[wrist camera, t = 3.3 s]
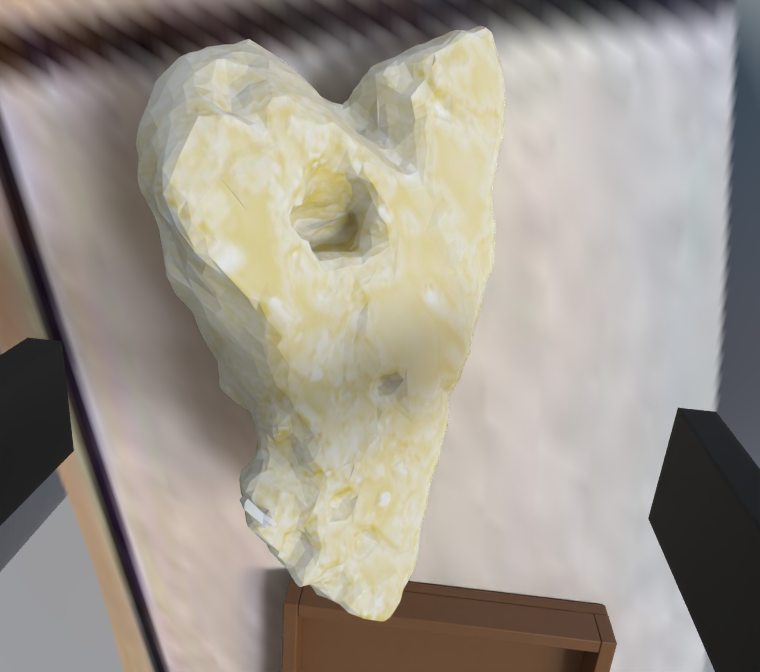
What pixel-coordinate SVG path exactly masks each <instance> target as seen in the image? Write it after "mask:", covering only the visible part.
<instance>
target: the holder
mask: <svg viewBox="0 0 760 672" xmlns="http://www.w3.org/2000/svg"><path fill="white" fill-rule="evenodd" d="M616 645H617V643H616V640H615V636H614V633H613V630H612V626H611V623H610V620H609V616H608V614H607V610H606V607H605V605H599V604H590V603H582V602H573V601H565V600H556V599H548V598H539V597H531V596H523V595H514V594H506V593H497V592H489V591H480V590H472V589H463V588H455V587H446V586H438V585H430V584H421V583H413V582H407V584H406V586H405V588H404V589H403V593H402V597H401V600H400V603H399V605H398V606H397V608H396V609H395V611H394V612H393V614H392V616H391V617H390V618H388V619H387V620H385V621H381V622H380V621H375V620H369V619H363V618H361V617H358V616H356V615H353V614H350V613H348V612H347V611H346V610H345V609H344V608H343V607H342V606H341V605H340V604H338V603H336V602H334V601H332V600H330V599H328V598H325V597H322V596H319V595H317V594H316V592H315V591H314V589H313V588H312V586H311V585H305V586H302V587H299V586H298V585H297V584H296V583H295V581H294V580H293V578H292V576H291V580H290V583H289V586H288V590H287V593H286V596H285V600H284V603H283V638H282V672H609V671H610V667H611V664H612V660H613V656H614V652H615V649H616Z"/></svg>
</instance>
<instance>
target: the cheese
mask: <svg viewBox="0 0 760 672" xmlns="http://www.w3.org/2000/svg"><path fill="white" fill-rule="evenodd" d="M504 110H505V86H504V77H503V69H502V66H501V62H500V59H499V56H498V53H497V49H496V46H495V43H494V39H493V35H492V33H491V32H490V31H489V30H488V29H487V28H486V27H483V26H479V27H476V28H473V29H471V30H469V31H463V30H454V31H451V32H449V33H447V34H445V35H443V36H440V37H437V38H434V39H432V40H430V41H428V42H426V43H424V44H419V45H416V46H414V47H412V48H410V49H408V50H406V51H404V52H402V53H401V54H399V55H397V56H396V57H393V58H390V59H387V60H385V61H383V62H380V63H378V64H375V65H373V66H372V67H371V68H370V69H369V70H368V71H367V73H366V74H365V75H364V76H363V78H362V79H361V81H360V82H359V84H358V86H357V87H356V88H354V89H353V91H352V94H351V96H350V98H349V99H348V100H347V101H346V102H344V103H343V104H338V103H334V102H331V101H329V100H327V99H325V98H323V97H321V96H320V95H319V94H318V92H317V91H316V90H315V89H314V88H313V87H312V86H311V85H310V84H309V83H308V82H307V81H306V80H305V79H304V78H303V77H302V76H301V75H299V74H298V73H297V72H296V71H295V70H294V69H293V68H292V67H290V66H289V65H288V64H287V63H286V62H285V61H283V60H282V59H280V58H278V57H277V56H275V55H274V54H272V53H271V52H269V51H267V50H266V49H264V48H263V47H261V46H259V45H258V44H256V43H255V42H253V41H251V40H250V39H247V40H244V41H242V42H239V43H236V44H228V45H218V46H211V47H206V48H204V49H202V50H200V51H196V52H191V53H188V54H185V55H183V56H180V57H179V58H178V59H177V60H176V61H175V62H174V63H173V64H172V65H171V66H170V67H169V68H168V69H167V70H166V71H165V72H164V73H163V74H162V75H161V76H160V77H159V78H158V79H157V81H156V82H155V84H154V87H153V90H152V93H151V95H150V97H149V102H148V105H147V107H146V109H145V112H144V114H143V116H142V119H141V121H140V124H139V128H138V132H137V137H136V150H137V153H138V155H139V162H138V170H137V176H138V183H139V189H140V191H141V192H142V194H143V196H144V198H145V200H146V201H147V203H148V205H149V207H150V209H151V211H152V212H153V214H154V217H155V219H156V222H157V225H158V227H159V230H160V238H161V243H162V247H163V257H164V264H165V271H166V276H167V279H168V280H169V282H170V283H171V284H172V288H173V291H174V292H175V294H176V295H177V296H178V298H179V299H180V300H181V301H182V302H183V303H184V304H185V305H186V306H187V307H188V308H189V309H190V310H191V311H192V313H193V315H194V318H195V321H196V323H197V326H198V328H199V330H200V332H201V334H202V336H203V338H204V340H205V342H206V344H207V346H208V347H209V349H210V351H211V352H212V354H213V355H214V357H215V358H216V360H217V362H218V375H219V379H220V382H219V388H220V389H221V390H222V391H223V392H224V393H226V394H227V395H228V396H229V397H230V398H231V399H232V400H233V401H235V402H236V403H238V404H240V405H241V406H243V407H244V408H245V409H246V410H248V411H249V412H250V413H251V414H252V417H253V421H254V426H255V430H256V434H257V437H258V444H257V452H256V454H255V456H254V457H253V459H252V461H251V462H250V463H249V464H248V465H247V466H246V467H245V468H244V469H243V470H242V472H241V476H240V489H241V494H242V497H241V499H240V501H241V503H242V506H243V508H244V510H245V515H246V521H247V525H248V527H249V528H250V529H251V530H252V531H253V532H254V533H255V534H257V535H258V536H259V537H260V538H261V539H262V540H263V541H264V542H265V543H266V544H267V546H268V548H269V550H270V552H271V553H272V554H273V555H274V556H275V557H276V558H277V559H278V560H279V561H280V562H281V563H282V564H283V565H284V566H285V567H286V568H287V570H288V571H289V573H290V575H291V576H292V578H293V580H294V581H295V583H296V584H297V585H298V586H299V587H302V586H305V585H311V586H312V588H313V589H314V591H315V592H316V594H317V595H319V596H322V597H325V598H328V599H330V600H332V601H334V602H336V603H338V604H340V605H341V606H342V607H343V608H344V609H345V610H346V611H347V612H348V613H350V614H353V615H356V616H358V617H361V618H363V619H369V620H375V621H380V622H381V621H385V620H387V619H388V618H390V617H391V616H392V614H393V612H394V611H395V609H396V608H397V606H398V605H399V603H400V600H401V597H402V593H403V589H404V588H405V586H406V584H407V582H408V580H409V578H410V576H411V574H412V572H413V570H414V568H415V566H416V563H417V556H418V550H419V541H420V528H421V526H422V522H423V519H424V516H425V513H426V508H427V502H428V497H429V490H430V483H431V480H432V477H433V474H434V472H435V469H436V467H437V464H438V462H439V457H440V452H441V447H442V442H443V439H444V435H445V432H446V429H447V426H448V417H449V409H448V397H449V396H450V394H451V392H452V390H453V389H454V387H455V386H456V384H457V383H458V381H459V379H460V376H461V372H462V369H463V366H464V364H465V362H466V360H467V358H468V356H469V355H470V351H471V344H472V337H473V333H474V329H475V326H476V322H477V319H478V316H479V313H480V309H481V306H482V299H483V294H484V289H485V283H486V280H487V278H488V277H489V275H490V274H491V272H492V271H493V267H494V248H495V235H496V222H495V218H494V215H493V184H494V179H495V174H496V168H497V161H498V150H499V148H500V145H501V143H502V140H503V127H504Z"/></svg>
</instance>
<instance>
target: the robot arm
mask: <svg viewBox="0 0 760 672" xmlns="http://www.w3.org/2000/svg"><path fill="white" fill-rule="evenodd" d="M73 451H74V449H73V440H72V430H71V421H70V412H69V403H68V394H67V385H66V376H65V367H64V358H63V349H62V341H54V340H45V339H36V338H26V339H25V340H23V341H22V342H20V343H19V344H17V345H16V346H14V347H13V348H11V349H9V350H8V351H6V352H5V353H3V354H2V355H0V526H1V525H2V524H3V523H4V522H5V520H6V519H7V518H8V517H9V516H10V515H11V514H12V513H13V512H14V511H15V510H16V509H17V508H18V507H19V506H20V505H21V504H22V503H23V502H24V501H25V500H26V499H27V498H28V497H29V496H30V495H31V494H32V493H33V492H34V491H35V490H36V489H37V488H38V487H39V486H40V485H41V484H42V483H43V482H44V481H45V480H46V479H47V478H48V476H49V475H50V474H51V473H52V472H53V471H54V470H55V469H56V468H57V467H58V466H59V465H60V464H61V463H62V462H63V461H64V460H65V459H66V458H67V457H68V456H69V455H70V454H71V453H72V452H73ZM648 519H649V521H650V523H651V526H652V528H653V530H654V533H655V535H656V537H657V539H658V542H659V544H660V546H661V549H662V551H663V553H664V556H665V558H666V560H667V562H668V565H669V567H670V569H671V572H672V574H673V576H674V578H675V581H676V583H677V585H678V588H679V590H680V592H681V595H682V597H683V599H684V601H685V604H686V606H687V608H688V611H689V613H690V615H691V618H692V620H693V622H694V624H695V627H696V629H697V631H698V634H699V636H700V638H701V640H702V643H703V645H704V647H705V650H706V652H707V654H708V657H709V659H710V661H711V663H712V666H713V668H714V670H715V672H760V469H759V467H758V466H757V465H756V464H755V462H754V461H753V460H752V458H751V457H750V456H749V454H748V453H747V452H746V450H745V449H744V448H743V446H742V445H741V444H740V443H739V441H738V440H737V439H736V437H735V436H734V435H733V433H732V432H731V431H730V429H729V428H728V427H727V425H726V424H725V423H724V422H723V420H722V419H721V418H720V416H719V415H718V414H717V412H712V411H703V410H694V409H684V408H678V410H677V413H676V417H675V421H674V425H673V428H672V432H671V436H670V440H669V443H668V447H667V451H666V455H665V458H664V462H663V466H662V469H661V473H660V477H659V481H658V484H657V488H656V492H655V496H654V499H653V503H652V507H651V511H650V514H649V518H648Z"/></svg>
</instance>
